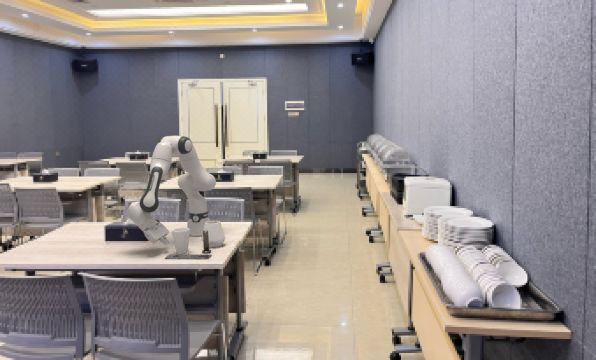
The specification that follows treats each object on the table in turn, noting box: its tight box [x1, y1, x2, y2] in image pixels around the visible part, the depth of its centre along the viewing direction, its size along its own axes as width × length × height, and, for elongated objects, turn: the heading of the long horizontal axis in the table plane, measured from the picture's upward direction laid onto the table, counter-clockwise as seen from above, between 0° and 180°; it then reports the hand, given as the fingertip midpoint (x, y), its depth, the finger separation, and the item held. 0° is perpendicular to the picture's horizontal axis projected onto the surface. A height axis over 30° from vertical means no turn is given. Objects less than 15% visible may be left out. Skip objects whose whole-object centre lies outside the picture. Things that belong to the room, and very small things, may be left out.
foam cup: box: [171, 227, 190, 254], centre depth 289 cm, size 10×9×13 cm
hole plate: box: [164, 253, 213, 260], centre depth 280 cm, size 7×24×1 cm, turn 83°
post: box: [201, 231, 212, 255], centre depth 288 cm, size 5×5×12 cm
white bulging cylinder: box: [201, 220, 226, 249], centre depth 303 cm, size 13×13×14 cm
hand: (167, 243), depth 291 cm, fingers closed
